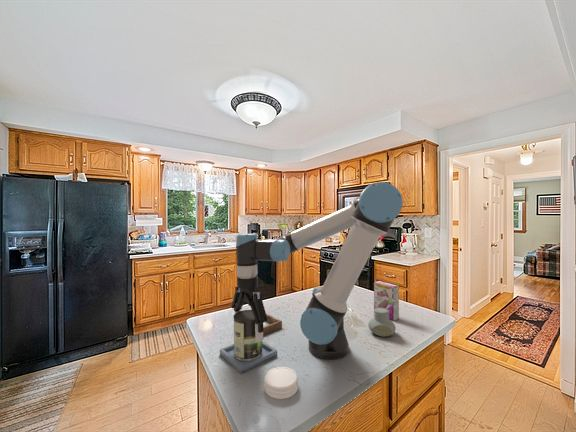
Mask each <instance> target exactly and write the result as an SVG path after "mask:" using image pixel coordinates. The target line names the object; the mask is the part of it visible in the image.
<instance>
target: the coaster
mask: <svg viewBox="0 0 576 432" xmlns="http://www.w3.org/2000/svg"><path fill="white" fill-rule="evenodd" d="M263 382H264V386H263V387H264V392H265V393H266V395H267V396H268V397H270V398H272V399H275V400H287V399H290V398H291V397H293V396H294V395H296V393H297V392H298V390H299V376H298V373H297V372H296V370H294V369H292V368H291V367H287V366H278V367H274V368H271V369H270V370H268V371H267V373H265V376H264V381H263Z"/></svg>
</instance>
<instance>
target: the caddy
mask: <svg viewBox="0 0 576 432" xmlns="http://www.w3.org/2000/svg"><path fill="white" fill-rule="evenodd" d="M266 316H267V319H268V321H267V322H268V323H270V324H268V325H264V326H263V328H264V331H263V336H265V335H268V334H270V333H273V332H275V331H278V330H279V329H283V321H282V320H281V319H278V318H276V317H274V316H272V315H270V314H268V313H266ZM267 322H266V323H267Z"/></svg>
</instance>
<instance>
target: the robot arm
mask: <svg viewBox="0 0 576 432" xmlns="http://www.w3.org/2000/svg"><path fill="white" fill-rule="evenodd" d="M403 201H404V200H403V197H402V194H401V192H400V190H399V189H398V188H397V187H396V186H395V185H393V184H391V183H390V182H384V181H378V182H373V183H370V184H369V185H367V186H365V188H364V189H363V190H362V191H361V193H360V195H359V197H358V198H357V199H354V200H353V201H351V203H350V204H349V205H348V206H346V207H344V208H340V209H339V210H337V211H335V212H332V213H331V214H328V215H326V216H324V217H321V218H320V219H318V220H316V221H313V222H311V223H309V224H306V225H304V226H302V227H300V228H298V229H296V230H294V231H292V232H289V233H287V234H284V235H283V236H280V237H276V238H273V239H259V238H258V234H257V233H240V234H237V236H236V241H235V242H236V243H235V245H236V246H235V248H236V249H235V251H236V276H237V278H236V286H235V287H234V295H233V299H232V303H231V309H233V311H234V314H235V313H237V312H240V311H243V306H244V304H245V303H247V304H248V306H249V307H250V310H252V312H253V314H254V317H255V319H256V323H255V337H256V342H260V341H264V335H263V331H264V328H263V327H264V323H267V321H268V319H267V316H266V314H267V312H266V308H265V306H264V302H263V297H262V295H263V294H262V292H261V291H260V292H257V291H256V289H257V287H258V285H259V277H258V275H259V274H258V273H259V271H258V261H265V262H275V263H276V262H277V263H279V262H286V261H288V260H289V257H290V254H292V253H295V252H297V251H299V250H302V249H305V248H306V247H308V246H312V245H313V244H316V243H318V242H320V241H322V240H325V239H327V238H330V237H332V236H334V235H337V234H340V233H341V232H344V231H346V230H349V229H350V230H349V232H348V234H347V235H346V238H345V239H344V243H343V244H342V245H341V248H340V250H339V252H338V255H337V257H336V259H335V261H334V263H333V264H332V266H331V269H330V271H329V272H328V275H327V277H326V279H325V281H324V283H323V285H322V286H317V287H313V289H312V293H311V295H312V296H311V298H310V301H309V302H308V305H307V307H306V308H305V310H304V311H303V313H302V314H301V317H300V320H299V321H300V323H299V326H300V329H301V332H302V334H303V335H304V337H305V338H306V339H307V340H308V351H310V353H311V354H312V355H313V356H316V357H317V358H321V359H325V360H339V359H343V358H344V357H345V356H347V355H348V354H349V351H350V347H349V345H350V343H349V341H348V339H347V335H346V332H345V327H344V326H345V325H344V323H345V321H344V320H345V318H344V317H345V316H346V313H347V311H348V305H347V304H346V303H347V301H348V299H349V297H350V294H351V293H352V291H353V288H354V287H355V285H356V283H357V281H358V280H359V277H360V275H361V273H362V272H363V269H364V267H365V266H366V264H367V261H369V258H370V255H371V254H372V252H373V250H374V247H375V246H376V244H377V242H378V240H379V238H380V237H381V236H383V235H386V234H388V232H389V230H390V228H391V226H392V225H393V223H394V221H395V219H396V218H397V217H398V216H399V214H400V213H401V211H402V209H403Z"/></svg>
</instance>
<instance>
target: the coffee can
mask: <svg viewBox="0 0 576 432" xmlns="http://www.w3.org/2000/svg"><path fill="white" fill-rule="evenodd" d="M255 323H256V319H255V317H254V314H253V312H252V309H244V310H243V309H242V311H240V312H237V313H235V312H234V314H233V341H234V342H233V344H234V356H235V358H236V359H238V360H241V361H251V360H254V359H256V358H258V357H260V356H261V355H262V341H263V340H262V341H260V342H256V337H255Z"/></svg>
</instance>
